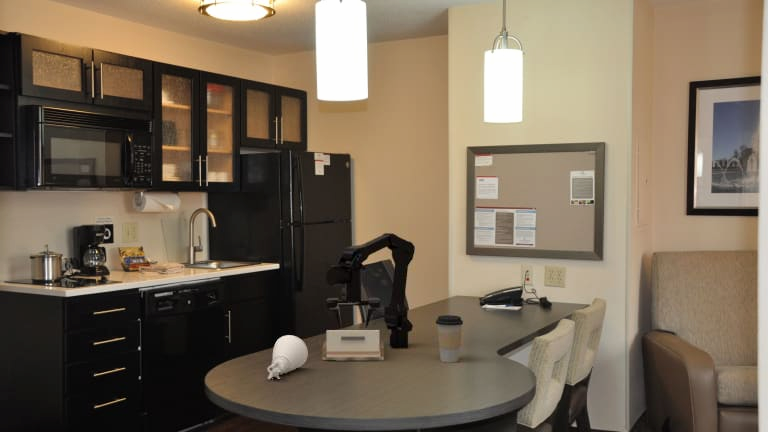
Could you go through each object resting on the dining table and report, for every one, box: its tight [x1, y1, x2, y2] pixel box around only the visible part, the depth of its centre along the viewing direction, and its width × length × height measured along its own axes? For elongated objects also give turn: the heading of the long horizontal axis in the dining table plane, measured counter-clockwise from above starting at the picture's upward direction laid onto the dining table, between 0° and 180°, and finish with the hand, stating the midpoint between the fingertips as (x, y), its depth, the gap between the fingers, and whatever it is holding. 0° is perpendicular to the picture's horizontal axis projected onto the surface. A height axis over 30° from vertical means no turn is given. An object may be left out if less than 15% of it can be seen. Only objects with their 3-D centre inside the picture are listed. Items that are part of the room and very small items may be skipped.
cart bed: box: [321, 340, 385, 361], centre depth 254 cm, size 21×12×4 cm, turn 91°
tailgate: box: [326, 329, 380, 357], centre depth 246 cm, size 18×2×9 cm, turn 91°
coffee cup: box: [435, 314, 464, 363], centre depth 248 cm, size 9×9×15 cm
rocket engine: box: [267, 334, 309, 380], centre depth 228 cm, size 12×12×18 cm
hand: (353, 327), depth 254 cm, fingers open, 9 cm apart
